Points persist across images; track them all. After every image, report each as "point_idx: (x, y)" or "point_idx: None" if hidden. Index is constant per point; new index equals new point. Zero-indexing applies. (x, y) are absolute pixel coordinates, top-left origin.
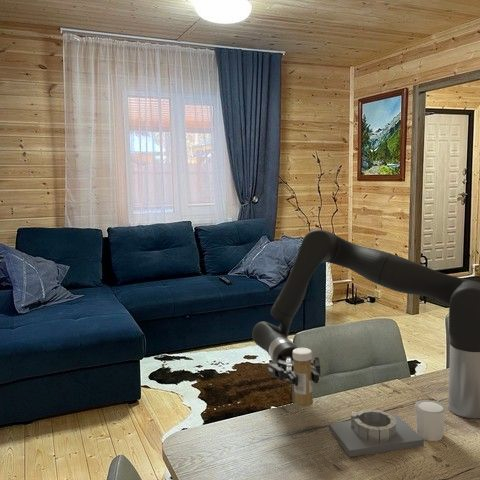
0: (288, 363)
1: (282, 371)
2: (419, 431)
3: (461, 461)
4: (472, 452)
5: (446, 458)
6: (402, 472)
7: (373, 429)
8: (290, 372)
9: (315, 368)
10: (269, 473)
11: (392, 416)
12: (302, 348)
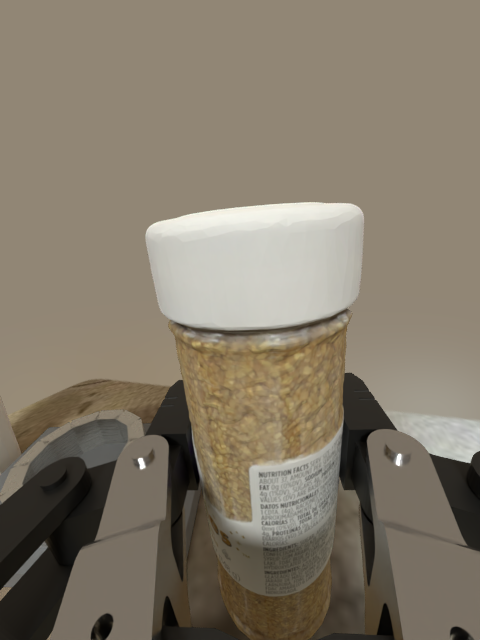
0: (469, 624)
1: (477, 455)
2: (9, 457)
3: (65, 397)
4: (22, 410)
5: (72, 405)
6: (163, 390)
7: (133, 414)
8: (374, 430)
9: (107, 476)
10: (390, 415)
11: (25, 454)
12: (218, 212)
